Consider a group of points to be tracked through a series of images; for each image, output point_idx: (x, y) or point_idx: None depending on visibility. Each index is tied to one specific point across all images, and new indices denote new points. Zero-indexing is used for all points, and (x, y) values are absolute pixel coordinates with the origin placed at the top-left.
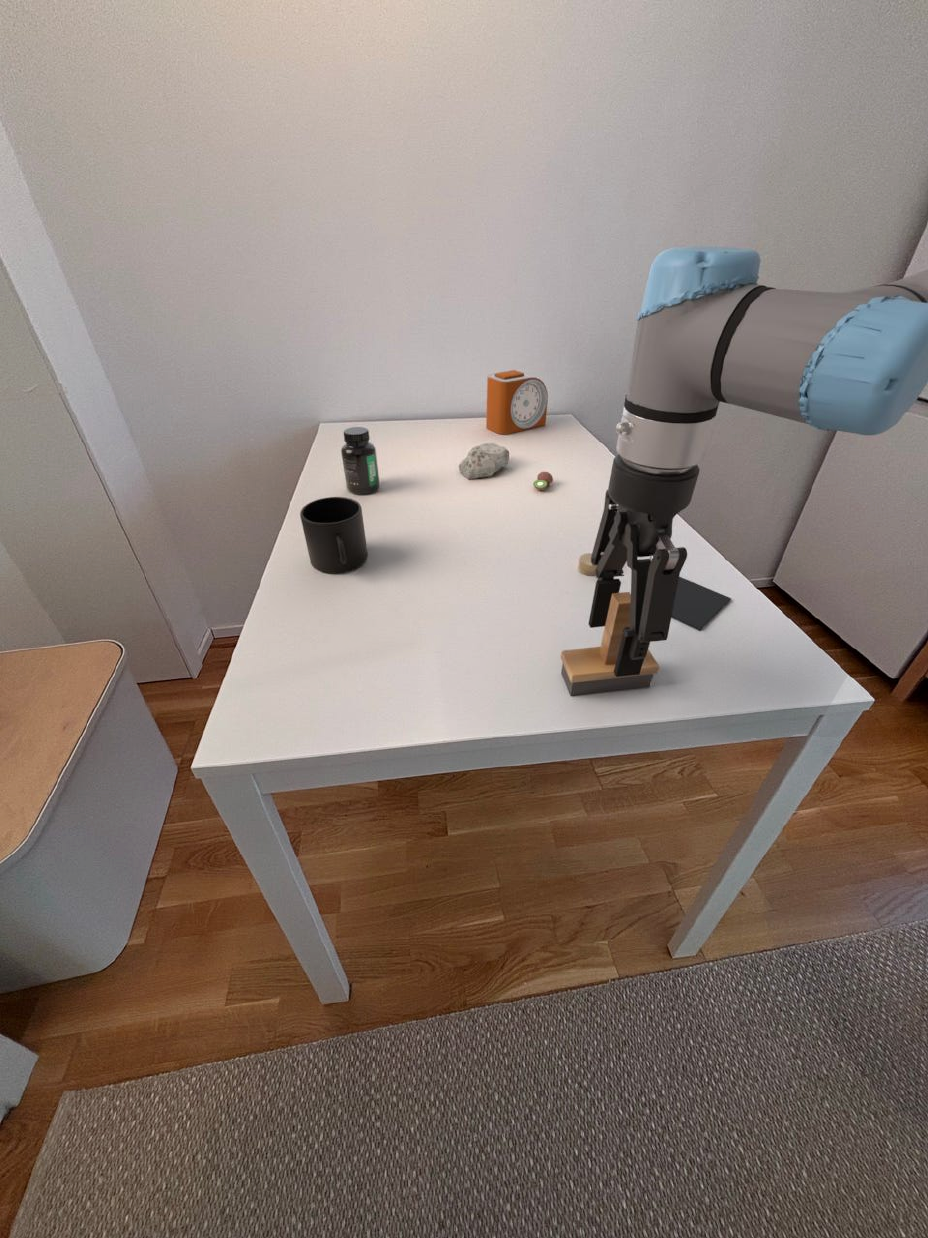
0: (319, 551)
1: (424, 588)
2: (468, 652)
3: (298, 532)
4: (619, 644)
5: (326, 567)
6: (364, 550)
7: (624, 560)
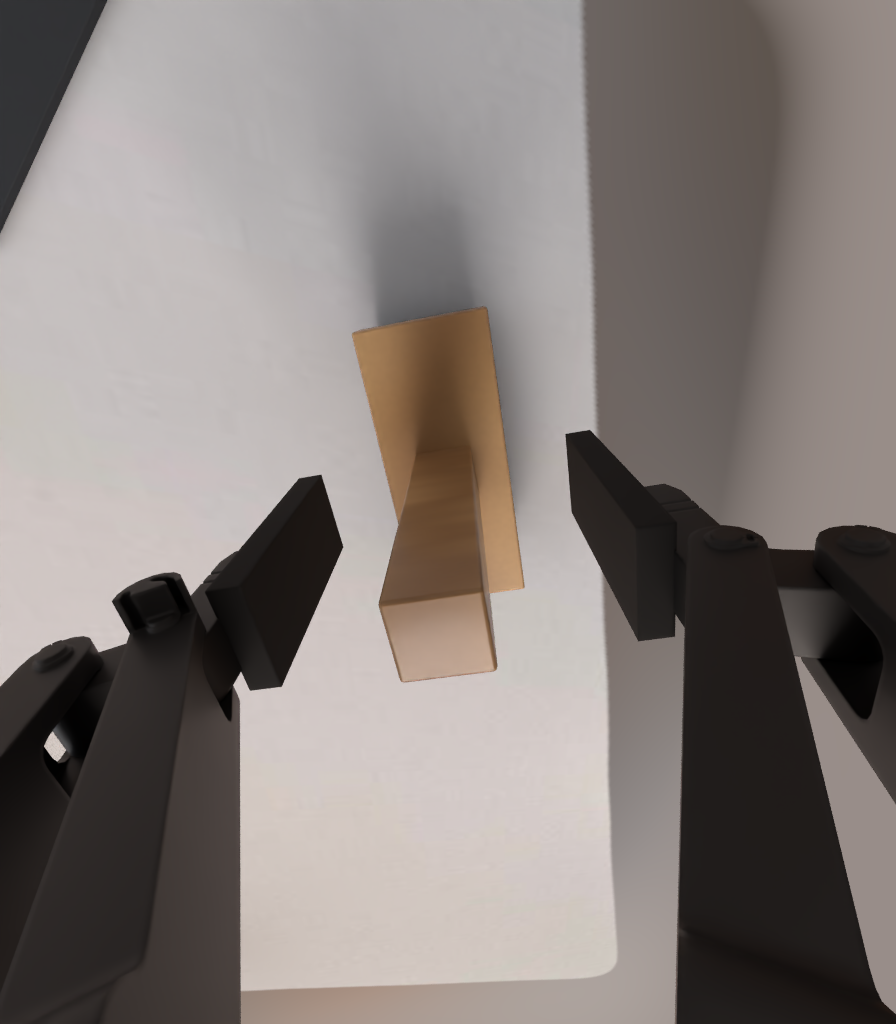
0: None
1: None
2: (369, 729)
3: None
4: (477, 498)
5: None
6: None
7: (188, 737)
